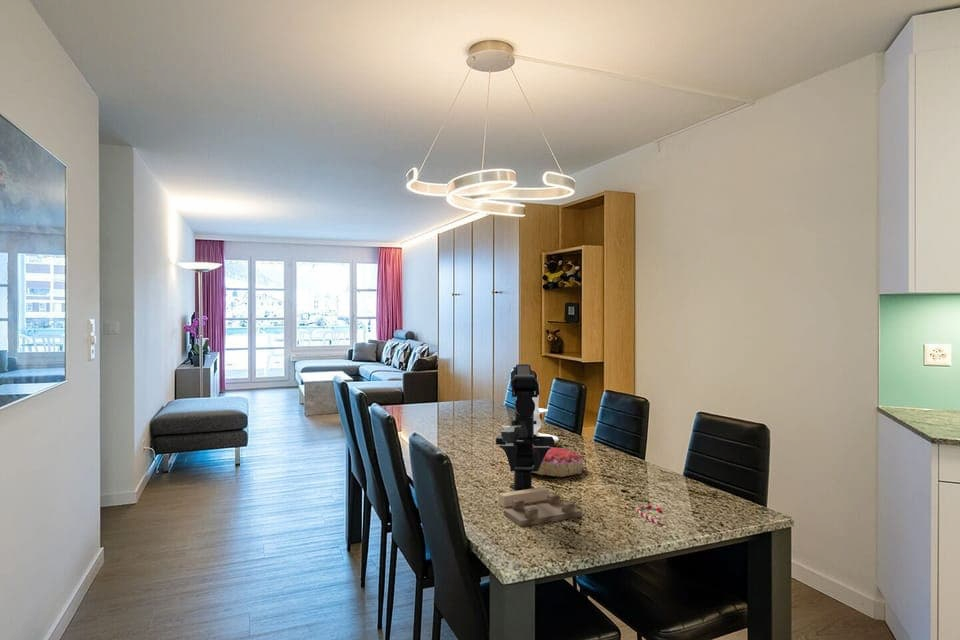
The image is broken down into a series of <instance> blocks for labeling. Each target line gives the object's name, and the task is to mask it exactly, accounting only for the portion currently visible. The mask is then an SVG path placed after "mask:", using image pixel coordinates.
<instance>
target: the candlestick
mask: <svg viewBox="0 0 960 640" xmlns="http://www.w3.org/2000/svg"><path fill="white" fill-rule="evenodd" d="M538 383H539V391H540V389H541V387H540V385H541V384H540V382H538ZM534 392H535V391H534ZM539 399H540V394H539V395H538V397H532V400H533V401H534V403H535V410H534V421H536V423H537V424H534V435H537V436H551V437H553V439H554V443H556V442H557V441H559V437H558V436H556V435H553V434H547V433H540V432H539V430H540V429H541V427H542V424H543V423H542V419H541V418H540V415H541V414H544V413H547V412H548V411H549V409H547V408H542V407H541V408H540V406H539ZM510 426H511V425H508V426H507V425H502V427H503V428H504V429H506V428H507V427H510ZM504 429H503V430H504ZM532 445H533V444H532ZM533 447H536V446H534V445H533Z"/></svg>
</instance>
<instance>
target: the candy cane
mask: <svg viewBox="0 0 960 640" xmlns="http://www.w3.org/2000/svg"><path fill="white" fill-rule="evenodd" d="M643 510H655V511H657V513H659V514H660V513H661V514H662V513H663V511H662V509H661V508H660V507H659V506H656V505H650V504H648V505H640V506H638V507H636V509H635V511H636V514H637V515H639V517H641V518H643V519H644V520H646V521H647V522H650V523H652V524H655V525H657V526H660V527H661V526H663V523H662V522H661V521H660V520H657V519H655V518H653V517H651V516H649V515H648V514H646V513H644V512H642V511H643Z"/></svg>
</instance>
